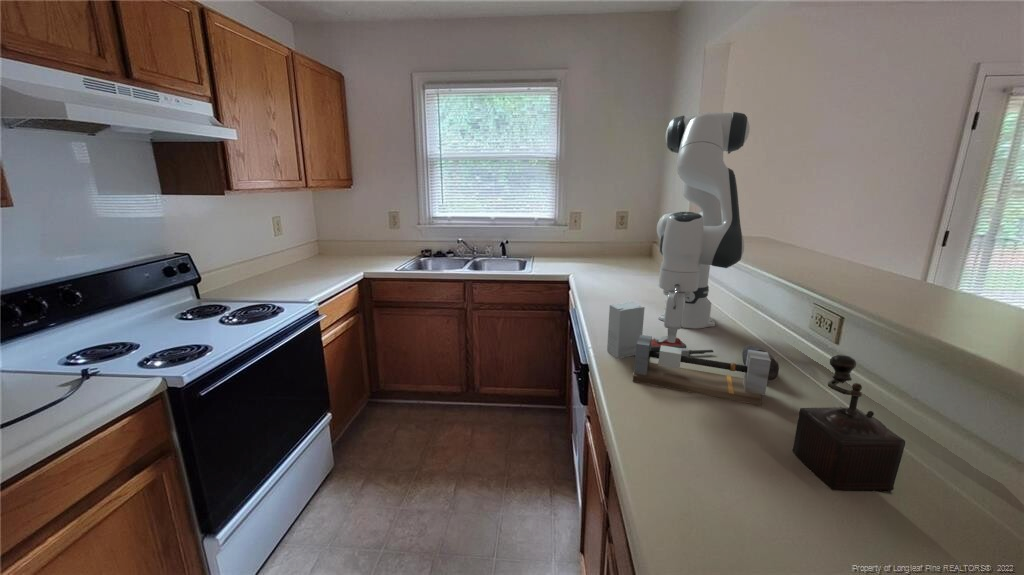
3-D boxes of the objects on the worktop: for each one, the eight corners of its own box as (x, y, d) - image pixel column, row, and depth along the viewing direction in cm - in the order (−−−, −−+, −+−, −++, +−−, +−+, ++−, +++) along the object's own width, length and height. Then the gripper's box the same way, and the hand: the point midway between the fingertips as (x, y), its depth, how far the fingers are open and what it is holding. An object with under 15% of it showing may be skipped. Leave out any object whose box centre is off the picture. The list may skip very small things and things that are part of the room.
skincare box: (629, 347, 125) (633, 300, 121) (641, 355, 119) (646, 306, 116) (605, 351, 122) (608, 303, 118) (617, 359, 117) (620, 309, 113)
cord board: (637, 365, 113) (640, 331, 110) (759, 386, 101) (766, 348, 99) (632, 381, 104) (635, 343, 101) (765, 406, 92) (772, 364, 90)
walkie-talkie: (648, 359, 117) (714, 357, 119) (649, 344, 116) (716, 343, 118) (636, 347, 126) (698, 345, 128) (637, 334, 125) (700, 332, 127)
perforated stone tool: (734, 360, 117) (738, 337, 115) (754, 361, 116) (758, 338, 114) (755, 384, 103) (759, 358, 101) (778, 386, 102) (783, 360, 100)
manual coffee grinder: (899, 492, 67) (928, 391, 62) (831, 491, 67) (854, 391, 62) (828, 435, 82) (847, 351, 77) (773, 435, 82) (788, 350, 77)
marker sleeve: (659, 359, 107) (661, 345, 106) (680, 363, 105) (681, 348, 104) (658, 365, 103) (659, 350, 102) (679, 369, 101) (681, 354, 100)
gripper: (692, 291, 88) (684, 352, 91) (693, 274, 106) (687, 325, 110) (661, 288, 91) (655, 347, 94) (667, 272, 109) (662, 322, 112)
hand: (672, 335), depth 102 cm, fingers open, 8 cm apart
